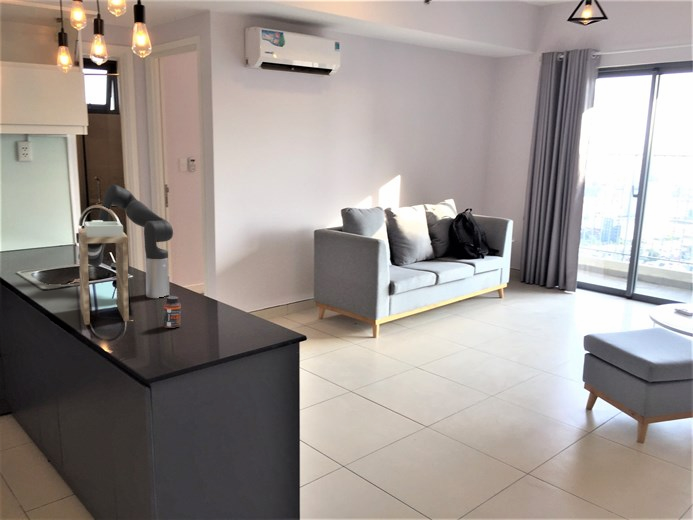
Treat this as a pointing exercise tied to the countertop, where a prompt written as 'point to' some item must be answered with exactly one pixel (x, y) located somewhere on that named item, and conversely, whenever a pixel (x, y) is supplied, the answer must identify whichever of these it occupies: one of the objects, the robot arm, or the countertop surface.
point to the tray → (103, 229)
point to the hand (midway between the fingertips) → (95, 231)
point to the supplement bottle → (172, 312)
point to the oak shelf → (120, 272)
